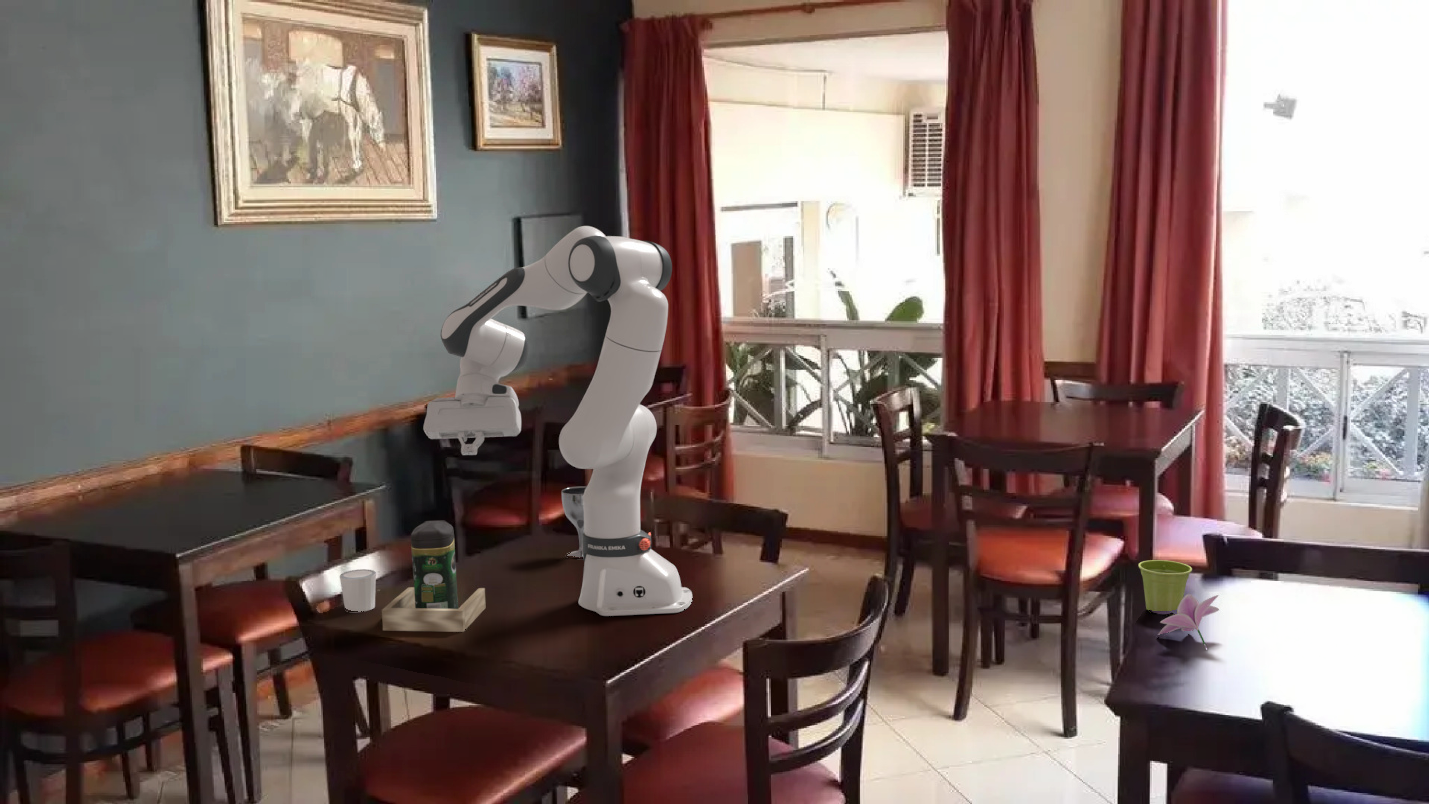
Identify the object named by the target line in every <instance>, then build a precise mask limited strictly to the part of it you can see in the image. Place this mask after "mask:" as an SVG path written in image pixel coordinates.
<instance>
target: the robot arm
mask: <svg viewBox="0 0 1429 804" xmlns="http://www.w3.org/2000/svg"><path fill="white" fill-rule="evenodd" d="M672 272H673V264H672V259H671V256H670V254H669V252H668V251H667V250H666V249H665V248H664V247H663V246H662V245H660V244H658V243H655V242H653V241H650V240H639V239H634V238H629V237H626V236H621V235H620V236H615V235H613V236H612V235H607V236H606V234H604V233H603V231H601V230H600V229H598V228H596V227H593V226H590V225H583V226H578V227H576V228H574V229H573V230H572V231H569V233H567V234H566V235H565V236H564V237H563V238H562V239H560V240H559V241H558V242H557V243H556V244H555V245H553V247H552V248H550V250H549V251H547V253H546V255H544V256H543V257H542V258H540V259H538V260H537V261H535V262H533V263H530V264H528V265H525V266H523V267H514V268H512V269H510V270H508V271H507V272H505V273H504V274H503V275H501V276H499V278H497V279H496V280H495V281H493V283H491V284H490V285H489V286H487V287H486V288H485V289H483V291H482V290H481V291H482V292H480V293H478V295H477V296H475V297H474V298H473V299H471V300H470V301H469V302H468V303H466V304H464V305H463V306H460V307H458V308H457V309H455V310H453V311H452V312H451V313H450V314H448V315H447V317H446V318H445V320H444V322H443V324H442V326H441V330H440V339H441V342H442V344H443V346H444V348H445V349H446V351H447V353H448V354H449V355H454V356H456V357H459V358H460V360H459V369H460V370H459V371H460V373H459V375H458V378H457V382H456V388H455V394H454V396H450V397H436V398H435V399H433V400H431V401H429V402H428V403H427V406H426V407H427V408H426V415H425V419H424V423H423V428H422V429H423V431H424V433H425V435H426V437H428V439H430V440H442V439H444V440H445V439H458V441H459V442H460V445H461V446H460V447H461V448H460V453H461V455H462V456H476V455H477V454H478V449H479V447H481V446H482V444H483V443H484V441H485V438H496V437H502V438H503V437H517V436H518V435H519V434H520V433H521V431H522V414H521V411H520V409H519V406H520V403H519V399H518V395H517V393H516V392H515V390H514V389H513V387H512V386H510V385H506V384H503V383H500V379H501V378H505V377H507V376H510V375H511V374H514V373H516V372H518V371H520V370H521V369H522V368H523V367H524V366H525V364H526V363H527V360H528V355H529V349H530V348H529V342H528V339H527V336H526V334H525V333H524V331H523V332H522V331H521V330H519V329H518V328H515V327H512V326H510V325H508V324H505V323H502V322H500V321H498V320H495V319H492V318H494V317H495V316H496V315H497V314H498V313H500V312H501V311H503V310H504V309H505V308H508V307H514V306H515V307H516V306H518V307H519V306H523V307H533V308H538V309H542V310H548V311H562V310H566V309H567V310H568V309H569V308H571V307H573V306H575V305H576V304H577V303H579V302H580V301H581V300H582V299H583V298H584V297H585V296H586V295H587V294H590V296H591V297H592V298H593V299H594V300H595V301H597V302H599V303H600V302H603V301H608V303H609V305H610V316H609V321H608V324H607V329H606V330H605V331H606V332H605V336H604V339H603V343H602V346H601V351H600V354H599V358H598V362H597V366H596V368H595V372H594V375H593V377H592V380H591V381H590V383H589V385H588V388H587V389H586V392H585V394H584V395H583V397H582V400H581V401H580V403H579V404H578V407H577V408H576V411H575V412H574V414H573V415H572V417H570V419H569V420H568V422H567V423H565V425H564V426H563V427H562V429H561V430H560V434H559V437H558V445H559V450H560V453H561V455H562V457H563V459H564V460H565V461H566V462H567V464H569V465H571V466H572V467H575V468H576V469H581V470H582V469H583V470H592V473H591V477H590V480H589V482H588V484H587V485H586V489H585V492H584V495H583V507H584V533H583V534H582V556H583V559H582V560H583V562H584V564H583V565H584V566H583V575H582V576H583V577H582V584H581V585H582V586H581V589H580V594H579V595H580V596H579V598H578V605H579V606H581V607H582V608H584V609H585V610H589V611H593V612H596V613H597V615H598V614H599V615H600V616H603V617H609V616H610V617H611V616H612V617H614V616H634V615H636V616H637V615H655V614H657V615H658V614H659V615H660V614H677V613H680V612H683V611H685V610H686V609H688V608H689V607H690V605H691V604H692V603H691V602H693V600H692V598H693V592H692V590H691V589H689V588H688V587H685V586H684V587H683V586H682V583H681V577H680V575H679V572H678V569H677V567H676V566H675V565H674V564H673V563H671V562H670V561H669V560H667V559H666V558H664V557H663V556H661V555H660V554H659V553H657V552H656V551H655V550H653V549H652V534H651V533H652V532H651V531H650V532H648V533H647V532H645V531H644V530H642V529H641V489H642V488H641V487H642V482H643V476H644V471H645V467H646V461H647V458H648V454H649V450H650V447H651V446H652V444H653V442H654V441H655V438H656V436H657V430H658V428H657V427H658V425H657V422H656V419H655V418H656V417H655V416H654V413H652V411H651V410H650V409H649V408H647V407H646V406H644V405H642V404H641V402H642V401H643V399H644V398H645V396H646V395H648V393H649V392H650V390H651V388H652V386H653V384H654V379H655V375H656V372H657V369H658V365H659V361H660V357H661V353H662V350H663V345H664V341H665V336H666V331H667V326H668V316H669V302H668V299H667V296H666V295H665V293H663V292H662V291H663V290H665V288H666V287H667V285H668V284H669V282H670V281H671V277H672ZM468 438H469V439H470V438H475V440H474V441H473V442H472V443H467V441H468ZM466 443H467V444H466ZM693 599H694V598H693ZM684 609H685V610H684Z"/></svg>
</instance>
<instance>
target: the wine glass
mask: <svg viewBox="0 0 1429 804" xmlns="http://www.w3.org/2000/svg"><path fill="white" fill-rule="evenodd" d="M586 487H587V485H586V486H585V485H584V486H580V485H579V486H571V487H567V488H564V489H562V490H561V502H562V503H561V504H562V508H563V511H564V514H565V516H566V518H567V519H568V520H569V521H570V522H571V524H573V525H574V527H575V528H576V531H577V534H578V540H579V548H578V550H574V551H571V553H570V552H569V553H570V554H568V553H567V554H568V555H567V556H573V557H574V556H575V557H579V558H580V557H583V556H582V534H583V533H584V507H583V495H584V492H585V489H586Z"/></svg>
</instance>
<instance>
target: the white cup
mask: <svg viewBox="0 0 1429 804" xmlns="http://www.w3.org/2000/svg"><path fill="white" fill-rule="evenodd" d="M376 575H377V572H376V571H375V570H373V569H361V568H360V569H353V570H348V571H345V572H342V573H340V575H339V580H340V586H341V593H342V598H343V605H344V609H345V608H346V609H348V610H351V611H358V612H357V613H362V612H363V611H364V612H367V611H370V610H372V609H375V607H376V582H377V580H376V579H377V577H376ZM361 611H362V612H361ZM364 612H363V613H364Z"/></svg>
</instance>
